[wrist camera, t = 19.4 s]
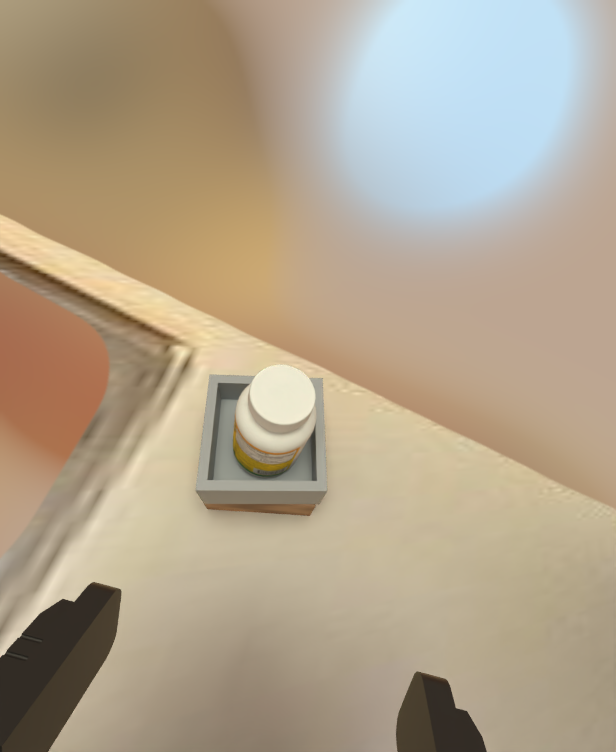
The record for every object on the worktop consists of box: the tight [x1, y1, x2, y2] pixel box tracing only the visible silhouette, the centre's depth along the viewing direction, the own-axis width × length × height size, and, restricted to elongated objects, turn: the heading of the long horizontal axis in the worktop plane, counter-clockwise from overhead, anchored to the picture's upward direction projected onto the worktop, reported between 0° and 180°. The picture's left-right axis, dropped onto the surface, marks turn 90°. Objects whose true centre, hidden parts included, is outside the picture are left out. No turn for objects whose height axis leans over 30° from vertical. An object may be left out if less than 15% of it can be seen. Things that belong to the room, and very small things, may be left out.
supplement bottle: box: [233, 365, 316, 478], centre depth 27 cm, size 5×5×10 cm
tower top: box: [196, 375, 327, 504], centre depth 31 cm, size 9×9×4 cm
